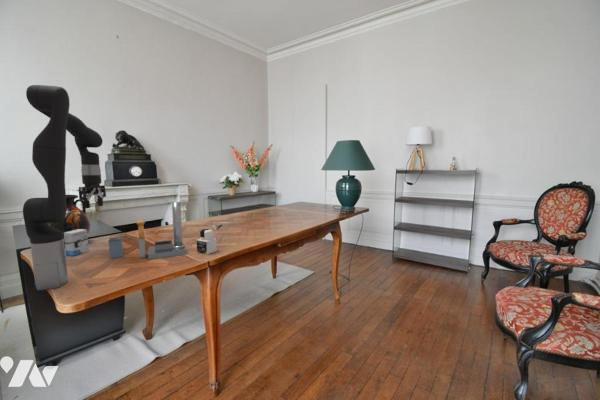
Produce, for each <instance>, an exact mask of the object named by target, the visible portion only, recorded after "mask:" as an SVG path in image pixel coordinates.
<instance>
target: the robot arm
mask: <svg viewBox="0 0 600 400" xmlns="http://www.w3.org/2000/svg"><path fill="white" fill-rule="evenodd" d="M25 93H26V94H25V95H26V99H27V101H28V103H29V104H30V106H31V107H32V108H34V109H35V110H36V111H38V112H40V113H41V114H43V115H44V116H46V117H48V118H49V121H48V123H47V124H46V126H45V127H44V128H43V129H42V130H41V132H39V134H38V135H37V136H36V137H35V139H34V141H33V143H32V150H31V151H32V153H31V154H32V155H31V156H32V157H31V158H32V164H33V166H34V168H35V169H36V170H37V171H38V173H39V174H40V175H41V177H42V178H43V179H44V182H45V183H46V187H47V197H31V198H28V199H27V200H26V201H24V204H23V206H22V217H23V221H24V225H25V232H26V236H27V237H28V239H29V243H30V251H31V259H32V268H33V275H34V276H33V277H34V285H35V289H36V290H37V291H42V290H43V291H45V290H49V289H56V288H61V286H64V285H65V284H68V282H69V277H68V276H69V275H68V268H67V257H66V256H67V255H66V249H65V246H64V237H63V232H62V231H60V230H57V229H54V228H52V227H50V226H49V225H48V223H53V222H61V221H62V220H63V219H64V218H65V216H66V211H67V204H66V195H67V194H66V192H67V191H66V161H67V160H66V158H67V155H66V153H67V132H68V133H69V134H70V135H71V136H73V137H74V142H75V145H76V147H77V149H78V151H79V155H80V162H81V164H80V165H81V167H80V168H81V181H82V182H81V183H82V184H83V185H84V186H79V187H78V198H79V199H80V200H83V201H84V208H86V209H90V208H91V205H90V204H91V203H90V202H91V201H90V199H91V197H93V196H95V198H97V200H96V201H97V206H98V207H103V206H104V198H106V197H107V193H106V192H107V191H106V186H105V185H103V184H102V172H101V166H100V155H99V154H98V153H97V152H92V151H89V149H88V148H99V147H101V146H102V145H103V138H102V136H101V135H100V133H99V132H97V131H96V130H94V129H93V128H90V127H88V126H87V125H86V124H85V123H84V122H83V121H82V120H81V119H80V118H79V117H77V116H76V115H74V114H72V113H71V112H70V105H71V104H70V95H69V94H68V91H67V90H66V89H65V88H64V87H62V86H56V85H45V84H44V85H43V84H31V85H29V86H27V88H26V91H25Z"/></svg>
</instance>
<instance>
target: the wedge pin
mask: <svg viewBox="0 0 600 400" xmlns="http://www.w3.org/2000/svg"><path fill="white" fill-rule="evenodd" d="M145 224H146V221H145V220H137V221H136V225H137V228H138V229H137V231H138V240H139V239H140V238H144V236H145V226H144V225H145ZM145 238H146V237H145ZM145 238H144V240H145V241H146V239H145Z"/></svg>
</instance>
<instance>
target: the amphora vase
mask: <svg viewBox="0 0 600 400" xmlns="http://www.w3.org/2000/svg"><path fill="white" fill-rule="evenodd" d="M78 198H79V195H77V194H66V204H67V211H66V216H65V218H64V219H63V220H62V221H61V222H53V223H48V225H49V226H50V227H52V228H54V229H57V230H60V231H62V232H63V237H64V233H65V232H69V231H73V230H77V229H85V230H87V235H89V233H90V231H91V221H90V219H89V218H88V216H87V208H84V201H83V200H80V199H78ZM79 202H80V204H81V206H82V209H81V208H79V207H78V206H77V203H79ZM64 246H65V240H64Z"/></svg>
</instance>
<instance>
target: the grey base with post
mask: <svg viewBox="0 0 600 400" xmlns="http://www.w3.org/2000/svg"><path fill="white" fill-rule="evenodd" d="M171 207H172V208H171V210H172V227H173V228H172V229H173V230H172V231H173V242H172V239H168V240H160V241H154V246H153V245H151V246H148V248H147V251H148V253H147V252H146V239H145V240H144V238H146V237H145V235H144V238H140V239H139V238H138V249H139V250H138V252H139V259H143V258H144V259H145V258H146V255H148V260H154V259H155V260H157V259H163V258H169V257H170V256H171V257H177V256H184V255H187V248H186V244H185V243H184V242H183V228H182V226H183V225H182V224H183V223H182V209H181V207H182V205H181V201H175V202H172V203H171ZM162 257H163V258H162ZM146 259H147V258H146Z"/></svg>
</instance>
